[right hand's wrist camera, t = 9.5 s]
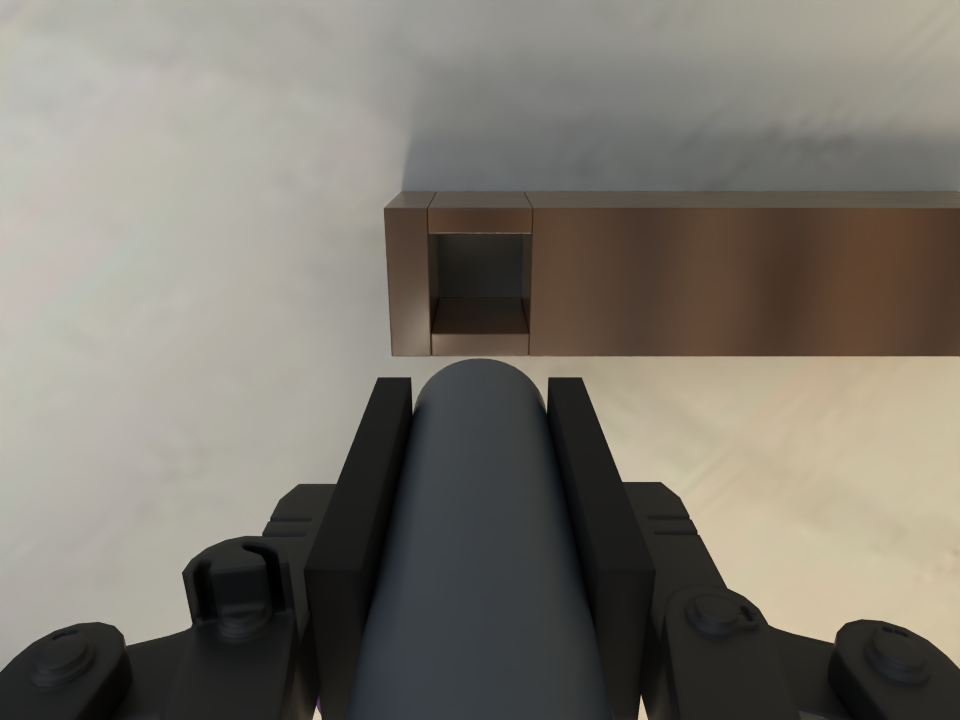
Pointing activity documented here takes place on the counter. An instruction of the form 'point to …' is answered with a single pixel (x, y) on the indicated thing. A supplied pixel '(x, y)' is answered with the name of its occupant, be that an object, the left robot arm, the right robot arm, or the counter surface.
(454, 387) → the peg
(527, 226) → the peg board
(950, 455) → the counter surface
